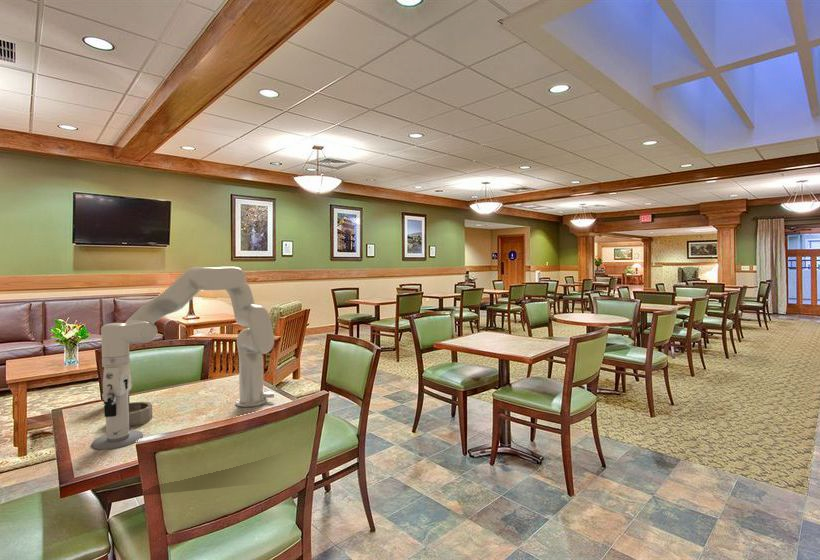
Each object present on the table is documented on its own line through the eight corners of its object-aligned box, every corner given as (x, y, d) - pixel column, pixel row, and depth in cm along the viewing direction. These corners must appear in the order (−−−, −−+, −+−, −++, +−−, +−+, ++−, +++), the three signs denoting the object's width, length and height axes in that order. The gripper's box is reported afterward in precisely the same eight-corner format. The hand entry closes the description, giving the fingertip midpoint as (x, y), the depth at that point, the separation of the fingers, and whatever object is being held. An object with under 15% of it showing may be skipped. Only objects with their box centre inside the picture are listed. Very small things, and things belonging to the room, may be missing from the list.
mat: (149, 430, 150) (149, 428, 150) (132, 447, 137) (132, 445, 137) (104, 433, 147) (104, 431, 147) (82, 451, 134) (82, 449, 134)
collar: (157, 413, 167) (156, 400, 167) (143, 426, 154) (143, 412, 154) (118, 415, 164) (118, 403, 164) (101, 429, 151) (101, 415, 151)
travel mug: (118, 443, 138) (117, 382, 137) (101, 441, 140) (100, 381, 139) (134, 435, 144) (133, 377, 143) (118, 433, 146) (116, 376, 145)
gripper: (116, 366, 133) (118, 419, 134) (139, 354, 150) (140, 401, 151) (89, 367, 131) (91, 421, 132) (115, 355, 148) (116, 403, 149)
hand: (117, 411), depth 142 cm, fingers open, 9 cm apart
